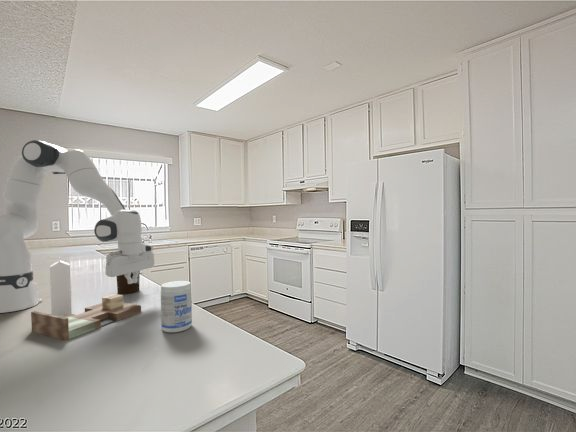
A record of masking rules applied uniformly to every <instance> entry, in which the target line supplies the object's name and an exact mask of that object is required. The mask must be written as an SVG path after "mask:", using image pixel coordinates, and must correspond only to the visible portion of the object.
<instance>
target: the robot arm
mask: <svg viewBox="0 0 576 432" xmlns="http://www.w3.org/2000/svg"><path fill="white" fill-rule="evenodd" d="M49 173H52V174H53V175H64V174H65V176H66V177H67V180H68V182H69V184H70V185H71V187H72V189H73V190H74V191H75V192H76V193H77V194H78V195H81V196H84V197H87V198H90V199H93V200H95V201H98V202H99V203H101V204H103V206H104V207H105V208H106V209H107V211H108V213H110V216H109V217H106V218H103V219H100V220H98V221H97V222H96V223H95V226H94V229H93V231H94V232H93V233H94V235H95V238H97V240H99V241H100V242H103V243H110V242H111V243H112V242H117V251H114V252H113V251H112V252H109V253H108V254H107V255H106V257H105V261H106V262H105V276H107V277H109V278H115V277H116V276H119V275H123V274H124V275H125V277H126V279H127V281H128V284H132V283H135V282H137V277H138V274H139V271H140V272H141V271H142V270H148V269H152V268H154V266H155V255H154V252H153V250H154V248H153V246H152V245H149V244H145V243H143V240H142V230H143V229H142V228H143V227H142V219H141V215H140V213H139V211H137V210H134V209H133V210H132V209H126V208H125V206H124V204H123V203H122V202H121V200H120V198H119V197H118V196H117V194H116V193H115V191H114V190H113V189H112V188H111V187H110V186H109V185H108V183H106V181H105V180H104V179H103V177H102V176H101V174H100V172H99V171H98V169H97V166H96V165H95V163H94V162H93V160H92V159H91V158H90V156H89V155H88V154H87V153H86V152H85V151H84V150H81V149H70V150H69V149H67V148H64V147H62V146H59V145H57V144H52V143H49V142H46V141H44V140H38V139H37V140H36V139H35V140H34V139H33V140H29V141H28V142H26V143H25V144H24V145H23V147H22V149H21V155H20V156H18V157H17V158H16V160H15V161H14V163H13V164H12V166H11V169H10V171H9V174H8V175H7V180H6V184H5V186H4V191H3V192H2V199H3V200H4V203H5V204H4V206H5V209H4V210H5V211H4V213H0V314H2V313H4V314H5V313H10V312H16V311H17V312H18V311H21V310H25V309H29V308H31V307H36V306H37V305H38V304H39V303H41V302H43V298H39V296H40V295H39V291H38V290H39V289H38V283H36V282H35V281H33V280H34V271H33V270H32V253H31V251H30V250H29V249H28V248H27V245H26V243H25V239H27V238H29V237H31V236H34V234H36V232H38V230H39V225H40V224H39V221H38V203H39V199H40V195H41V191H42V188H43V184H44V180H45V177H46V176H47V175H48V174H49ZM131 273H133V277H132V278H131V277H130V275H131Z"/></svg>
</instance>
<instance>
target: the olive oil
mask: <svg viewBox="0 0 576 432" xmlns="http://www.w3.org/2000/svg"><path fill="white" fill-rule="evenodd" d="M140 273H141V270H140V271H139V274H138V277H137V282H135V283H132V284H128V281H127V279H126V277H125V275H124V274H123V275H119V276H115V277H116V289H117V294H118V295H129V294H134V293H137V292H139V291H140V276H141V275H140ZM130 277H131V278H132V277H133V273H131V275H130Z"/></svg>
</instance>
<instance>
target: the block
mask: <svg viewBox="0 0 576 432" xmlns="http://www.w3.org/2000/svg"><path fill="white" fill-rule="evenodd" d="M101 303H102V308H105V309H111V310H112V309H115V308H118V307H121V306H123V303H124V294H118V293H117V294H115V293H114V294H113V293H112V294H110V295H107V296H103V297H101Z"/></svg>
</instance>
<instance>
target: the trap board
mask: <svg viewBox="0 0 576 432" xmlns="http://www.w3.org/2000/svg"><path fill="white" fill-rule="evenodd" d="M141 312H142V305H141V304H133V303H128V302H123V306H121V307H118V308H115V309H112V310H111V309H105V308H102V302H100V303H98V304H94V305H89V306H87V307H85V308H84V312H82V313H78V314H73V313H72V314H69V313H67V314H64V315H60V316H56V315H52V313H51V314H50V313H45V312H42V311H35V310H33V311H31V312H30V316H31V317H30V319H31V320H30V322H31V332H32V333H36V334H38V335H43V336H47V337H51V338H54V339H55V338H56V339H58V340H62V341H68V340H70V339H74V338H76V337H78V336H80V335H84V334H86V333H89V332H92V331H94V330H96V329H100V328H102V327H105V326H108V325H110V324H112V323H116V322H117V321H120V320H124V319H126V318H128V317H130V316H134V315H136V314H139V313H141Z"/></svg>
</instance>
